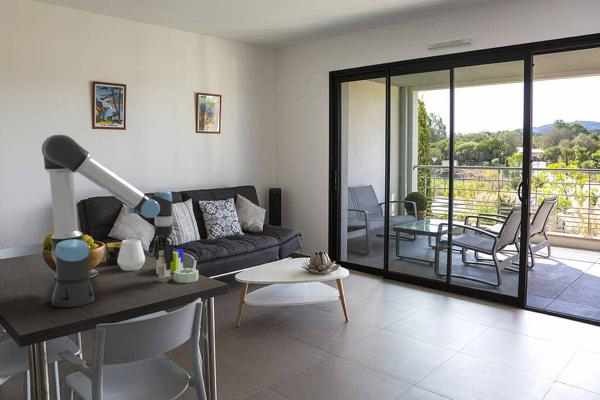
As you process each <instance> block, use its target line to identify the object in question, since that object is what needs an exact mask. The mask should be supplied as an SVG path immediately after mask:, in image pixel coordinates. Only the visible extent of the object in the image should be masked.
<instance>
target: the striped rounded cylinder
mask: <svg viewBox="0 0 600 400" xmlns="http://www.w3.org/2000/svg"><path fill="white" fill-rule="evenodd" d="M164 262H165V257H164V251H163V250H161V251H159V274H158V282H159V283H167V282H168V281H169V277H164Z"/></svg>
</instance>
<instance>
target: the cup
mask: <svg viewBox="0 0 600 400" xmlns="http://www.w3.org/2000/svg"><path fill="white" fill-rule="evenodd" d="M121 243H122V244H121V248H120V252H119V256H118V260H117V262H118V264H119V265H118V266H119V267H120V269H121V270H123V271H129V272H130V271H137V270H141V269H142V267H143V265H144V264H145V262H146V257H145V253H144V249H143V245H142V242H141V240H139V239H124V240H122V241H121ZM140 268H141V269H140Z"/></svg>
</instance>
